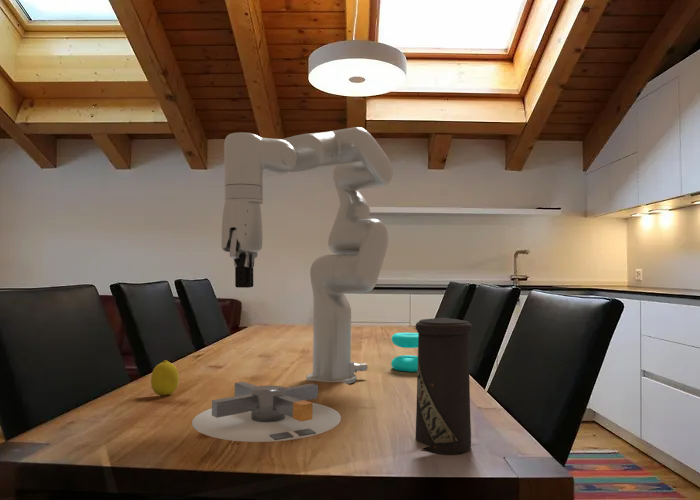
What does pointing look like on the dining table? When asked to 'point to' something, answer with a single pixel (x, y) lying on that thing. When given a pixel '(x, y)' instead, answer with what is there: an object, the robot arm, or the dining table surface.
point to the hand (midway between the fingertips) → (244, 287)
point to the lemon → (164, 378)
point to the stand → (265, 426)
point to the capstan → (268, 402)
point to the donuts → (405, 361)
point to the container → (443, 385)
